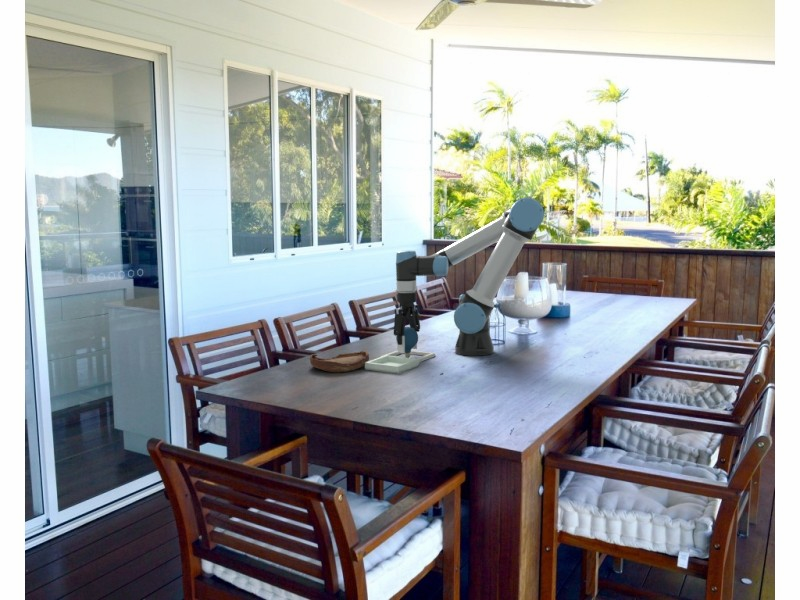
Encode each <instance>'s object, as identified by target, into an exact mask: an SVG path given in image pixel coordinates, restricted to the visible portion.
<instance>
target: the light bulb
mask: <svg viewBox="0 0 800 600" xmlns="http://www.w3.org/2000/svg"><path fill="white" fill-rule="evenodd" d="M403 336H405V353H404V357H406V358H411V354H410V352H411V350H413V349H412V348H413V347H414V346H415V345H416V344H417V345H418V341H419V334H418V332H416V331H415V330H414V329H413V328H411V327H410V326H405V329H404V334H403ZM395 337H396V341H397V336H395Z"/></svg>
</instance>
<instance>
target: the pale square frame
mask: <svg viewBox="0 0 800 600" xmlns="http://www.w3.org/2000/svg"><path fill="white" fill-rule="evenodd" d="M401 354H402V353H398V350H395V351H392V352H388V353H387V354H383V355H381V356H379V357H378V358H380V357H383V356H386V355H388V356H398V355H401ZM410 355H414V356H415V355H416V356H420V357H417V358H416V359H419V363H421V362H423V361H426V360H428V359H432V358H434V357H436V352H430V351H420V350H413V349H411V352H410Z"/></svg>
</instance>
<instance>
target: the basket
mask: <svg viewBox="0 0 800 600" xmlns="http://www.w3.org/2000/svg"><path fill="white" fill-rule="evenodd" d="M317 356H318V355H317V354H315V353H313V354H310V356H309V360H310V365H311V366H312V367H313V368H316V369H318V370H321V371H325V372H328V373H344V372H350V371H351V372H352V371H355V370H358V369H361V368H363V367H365V362H368V361H370V355H369V351H366V350H361V351H359V352H348V353H346V352H345V353H339V354H338V355H336V356H333V357H332V358H322V357H321V358H320V357H317Z"/></svg>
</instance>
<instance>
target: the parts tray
mask: <svg viewBox="0 0 800 600" xmlns="http://www.w3.org/2000/svg"><path fill="white" fill-rule="evenodd" d="M385 355H386V354H385ZM382 356H383V355H382ZM379 357H380V356H379ZM379 357H378V358H377V357H376V358H375V359H371V360H369V361H368V362H365V366H364V370H366V371H367V370H368V371H374V372H383V373H390V374H396V375H397V374H398V375H399V374H402V373H404V372H407V371H409V370H412V369H414V368H417V367H419V365H420V362H419V359H417V358H414V357H409V358H406V357H405V356H398V355H396V356H388V355H386V356H383V357H380V358H379Z"/></svg>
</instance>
